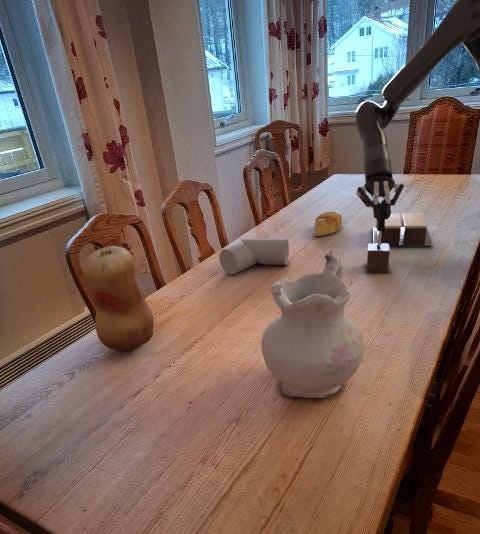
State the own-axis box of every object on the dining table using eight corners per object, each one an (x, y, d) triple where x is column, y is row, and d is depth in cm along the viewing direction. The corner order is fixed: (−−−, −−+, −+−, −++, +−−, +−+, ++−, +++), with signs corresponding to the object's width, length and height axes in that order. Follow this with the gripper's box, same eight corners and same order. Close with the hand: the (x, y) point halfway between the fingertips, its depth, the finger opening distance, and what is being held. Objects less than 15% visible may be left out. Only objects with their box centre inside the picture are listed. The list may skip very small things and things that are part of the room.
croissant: (323, 248, 158) (332, 231, 153) (301, 233, 160) (309, 216, 155) (344, 229, 173) (354, 212, 167) (324, 215, 175) (332, 199, 169)
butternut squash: (93, 362, 100) (61, 263, 88) (115, 331, 112) (89, 240, 99) (149, 362, 98) (125, 261, 86) (166, 331, 110) (146, 238, 97)
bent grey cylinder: (257, 247, 152) (215, 266, 141) (260, 219, 146) (217, 237, 134) (296, 268, 143) (255, 290, 131) (301, 239, 136) (258, 260, 125)
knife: (380, 256, 130) (384, 200, 122) (382, 259, 128) (386, 203, 119) (374, 256, 131) (378, 200, 122) (376, 260, 128) (379, 203, 120)
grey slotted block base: (424, 229, 156) (427, 211, 153) (430, 247, 141) (433, 227, 138) (373, 229, 161) (374, 211, 157) (373, 247, 146) (374, 227, 143)
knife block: (387, 264, 133) (389, 243, 129) (387, 273, 128) (389, 250, 124) (366, 264, 134) (368, 243, 131) (366, 272, 129) (368, 250, 126)
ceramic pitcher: (286, 347, 100) (273, 247, 89) (372, 353, 93) (370, 244, 81) (255, 408, 83) (234, 294, 72) (358, 422, 76) (353, 296, 64)
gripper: (354, 158, 123) (359, 213, 118) (404, 154, 121) (411, 210, 117) (351, 174, 130) (356, 226, 125) (398, 170, 128) (404, 223, 124)
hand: (382, 218), depth 121 cm, fingers closed on knife, 2 cm apart
